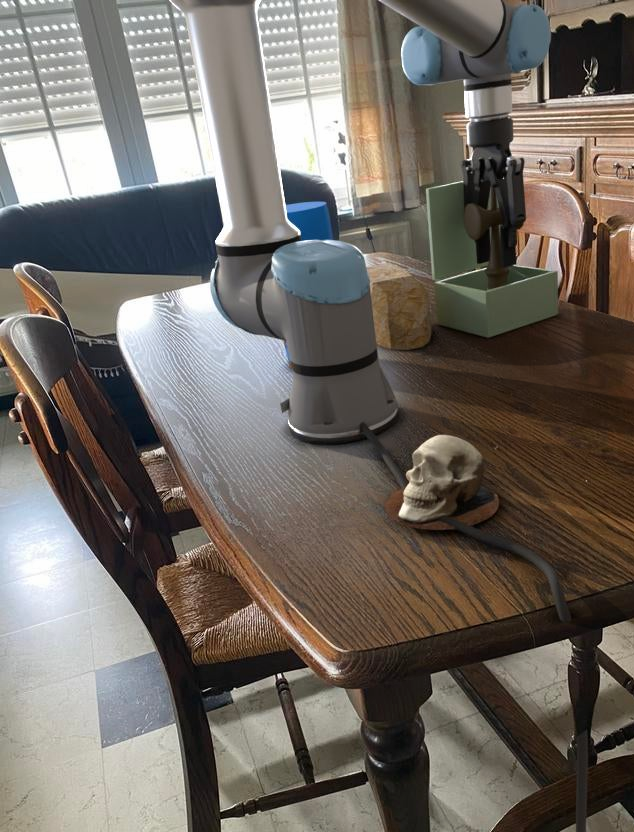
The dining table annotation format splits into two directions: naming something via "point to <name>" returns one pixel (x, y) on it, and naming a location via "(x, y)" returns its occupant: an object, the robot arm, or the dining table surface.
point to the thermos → (309, 226)
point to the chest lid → (450, 231)
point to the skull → (443, 487)
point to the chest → (496, 300)
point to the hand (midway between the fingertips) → (496, 263)
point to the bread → (399, 308)
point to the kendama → (478, 224)
